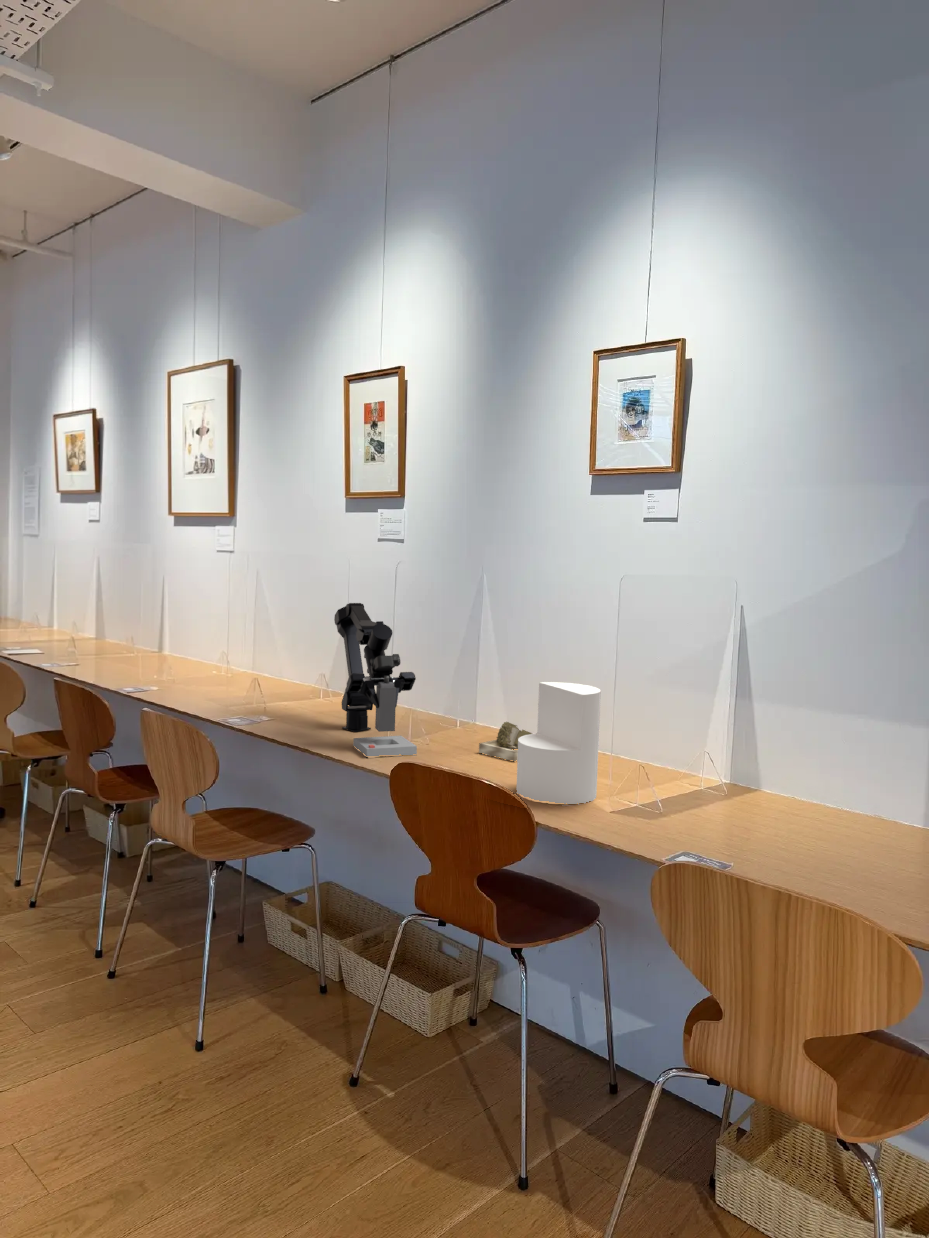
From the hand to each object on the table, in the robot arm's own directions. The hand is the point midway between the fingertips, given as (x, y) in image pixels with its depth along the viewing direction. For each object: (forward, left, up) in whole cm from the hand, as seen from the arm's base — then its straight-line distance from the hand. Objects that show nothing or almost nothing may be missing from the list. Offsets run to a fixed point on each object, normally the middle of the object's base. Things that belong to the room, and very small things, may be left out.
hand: (386, 706), depth 249 cm
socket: (-1, 0, -13) cm, 13 cm away
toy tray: (+24, +29, -13) cm, 40 cm away
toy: (+24, +29, -12) cm, 40 cm away
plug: (-1, +1, -7) cm, 7 cm away
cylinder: (+57, +3, -13) cm, 58 cm away
